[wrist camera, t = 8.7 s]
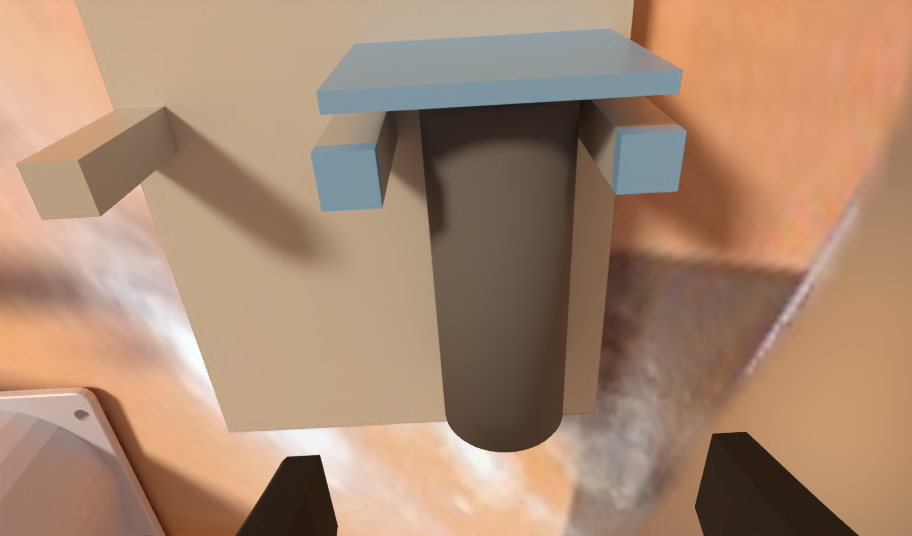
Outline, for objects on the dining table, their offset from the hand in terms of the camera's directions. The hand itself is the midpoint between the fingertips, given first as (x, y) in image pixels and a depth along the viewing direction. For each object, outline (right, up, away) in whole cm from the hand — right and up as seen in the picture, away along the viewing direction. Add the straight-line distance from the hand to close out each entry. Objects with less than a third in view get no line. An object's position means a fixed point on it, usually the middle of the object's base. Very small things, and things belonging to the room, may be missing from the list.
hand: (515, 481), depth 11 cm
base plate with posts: (-3, +6, +6) cm, 9 cm away
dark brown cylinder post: (0, +5, +6) cm, 8 cm away
